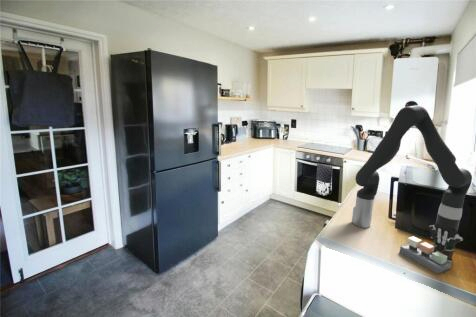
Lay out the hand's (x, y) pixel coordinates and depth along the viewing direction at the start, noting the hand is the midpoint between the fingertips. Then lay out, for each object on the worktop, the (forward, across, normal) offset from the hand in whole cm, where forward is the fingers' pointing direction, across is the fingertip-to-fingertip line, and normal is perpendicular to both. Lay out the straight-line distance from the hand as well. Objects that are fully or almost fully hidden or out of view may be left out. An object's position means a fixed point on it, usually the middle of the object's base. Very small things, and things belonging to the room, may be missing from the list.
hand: (440, 250), depth 113 cm
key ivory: (+3, -11, 0) cm, 11 cm away
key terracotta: (+3, -5, 0) cm, 6 cm away
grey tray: (+8, -5, -1) cm, 9 cm away
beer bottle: (+8, -4, +12) cm, 15 cm away
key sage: (+5, 0, 0) cm, 5 cm away
